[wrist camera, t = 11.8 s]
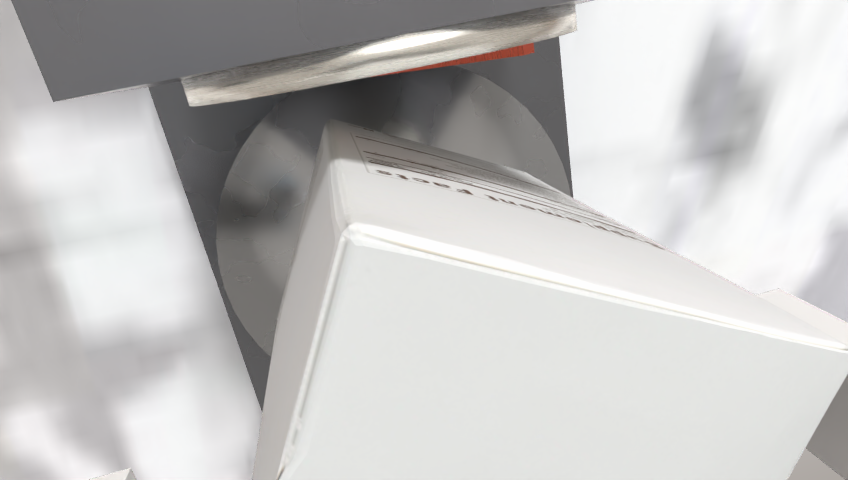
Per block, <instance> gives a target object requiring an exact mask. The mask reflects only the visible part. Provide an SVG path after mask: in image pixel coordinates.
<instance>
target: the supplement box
mask: <svg viewBox="0 0 848 480" xmlns="http://www.w3.org/2000/svg"><path fill="white" fill-rule="evenodd" d="M847 375H848V345H846V344H844V343H842V342H840V341H839V340H837V339H835V338H833V337H832V336H830V335H828V334H826V333H824V332H823V331H821V330H819V329H817V328H815V327H814V326H812V325H810V324H808V323H806V322H805V321H803V320H801V319H799V318H797V317H796V316H794V315H792V314H790V313H788V312H787V311H785V310H783V309H781V308H779V307H777V306H775V305H774V304H772V303H770V302H768V301H766V300H764V299H762V298H760V297H759V296H757V295H755V294H753V293H751V292H749V291H747V290H745V289H744V288H742V287H740V286H738V285H736V284H734V283H732V282H731V281H729V280H727V279H725V278H723V277H721V276H719V275H717V274H715V273H714V272H712V271H710V270H708V269H706V268H704V267H702V266H700V265H698V264H696V263H694V262H693V261H691V260H689V259H687V258H685V257H683V256H681V255H679V254H677V253H675V252H674V251H672V250H670V249H668V248H666V247H664V246H662V245H660V244H658V243H657V242H655V241H653V240H651V239H649V238H647V237H645V236H643V235H641V234H640V233H638V232H636V231H634V230H632V229H630V228H628V227H626V226H624V225H622V224H621V223H619V222H617V221H615V220H613V219H611V218H609V217H607V216H605V215H604V214H602V213H600V212H598V211H596V210H594V209H592V208H590V207H589V206H587V205H585V204H583V203H581V202H579V201H577V200H576V199H574V198H572V197H570V196H568V195H566V194H564V193H563V192H561V191H559V190H557V189H555V188H553V187H551V186H550V185H548V184H546V183H544V182H542V181H541V180H539V179H537V178H535V177H533V176H531V175H530V174H528V173H526V172H523V171H520V170H516V169H513V168H510V167H506V166H502V165H499V164H495V163H491V162H488V161H484V160H480V159H477V158H473V157H469V156H466V155H462V154H459V153H455V152H451V151H448V150H444V149H440V148H437V147H433V146H429V145H426V144H422V143H419V142H415V141H411V140H408V139H404V138H401V137H397V136H393V135H390V134H386V133H383V132H379V131H375V130H372V129H368V128H365V127H361V126H357V125H354V124H350V123H346V122H342V121H338V120H334V119H330V120H328V121H327V122H326V124H325V126H324V129H323V133H322V137H321V140H320V144H319V148H318V153H317V157H316V161H315V165H314V169H313V173H312V177H311V181H310V185H309V189H308V193H307V197H306V201H305V205H304V209H303V213H302V218H301V222H300V226H299V230H298V234H297V238H296V242H295V246H294V250H293V254H292V259H291V263H290V267H289V271H288V275H287V279H286V283H285V287H284V292H283V296H282V300H281V304H280V308H279V313H278V318H277V324H276V331H275V337H274V344H273V350H272V356H271V362H270V369H269V375H268V381H267V387H266V393H265V399H264V406H263V412H262V418H261V425H260V431H259V437H258V444H257V450H256V456H255V463H254V469H253V475H252V480H787V479H788V478H789V476H790V474H791V472H792V471H793V469H794V467H795V465H796V464H797V462H798V460H799V458H800V456H801V455H802V453H803V451H804V449H805V448H806V446H807V444H808V442H809V441H810V439H811V437H812V435H813V433H814V432H815V430H816V428H817V426H818V425H819V423H820V421H821V419H822V418H823V416H824V414H825V412H826V411H827V409H828V407H829V405H830V404H831V402H832V400H833V398H834V397H835V395H836V393H837V392H838V390H839V388H840V387H841V385H842V383H843V381H844V380H845V378H846V376H847Z"/></svg>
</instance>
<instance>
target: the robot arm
mask: <svg viewBox="0 0 848 480" xmlns="http://www.w3.org/2000/svg"><path fill="white" fill-rule="evenodd" d="M757 296H759V297H760V298H762V299H764V300H766V301H768V302H770V303H772V304H774V305H775V306H777V307H779V308H781V309H783V310H785V311H787V312H788V313H790V314H792V315H794V316H796V317H797V318H799V319H801V320H803V321H805V322H806V323H808V324H810V325H812V326H814V327H815V328H817V329H819V330H821V331H823V332H824V333H826V334H828V335H830V336H832V337H833V338H835V339H837V340H839V341H840V342H842V343H844V344H846V345H848V322H846V321H844V320H842V319H840V318H838V317H835V316H833V315H831V314H829V313H827V312H825V311H823V310H821V309H819V308H817V307H815V306H813V305H811V304H809V303H807V302H805V301H803V300H801V299H799V298H797V297H795V296H793V295H791V294H789V293H787V292H785V291H783V290H781V289H776V290H772V291H768V292H765V293H761V294H758V295H757ZM806 449H807V450H808V451H810V452H811V453H812V454H814V455H815V456H816V457H817V458H819V459H820V460H821V461H822V462H824V463H825V464H826V465H828V466H829V467H830V468H831V469H832V470H834V471H835V472H836V473H837V474H839V475H840V476H841V477H843V478H844V479H845V480H848V375H847V376H846V378H845V380H844V381H843V383H842V385H841V387H840V388H839V390H838V392H837V393H836V395H835V397H834V398H833V400H832V402H831V404H830V405H829V407H828V409H827V411H826V412H825V414H824V416H823V418H822V419H821V421H820V423H819V425H818V426H817V428H816V430H815V432H814V433H813V435H812V437H811V439H810V441H809V442H808V444H807V446H806ZM89 480H136V478H135V476H134V473H133V471H132V469H131V468H129V469H125V470H121V471H118V472H114V473H110V474H107V475H103V476H100V477H96V478H92V479H89Z"/></svg>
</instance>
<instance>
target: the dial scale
mask: <svg viewBox="0 0 848 480" xmlns="http://www.w3.org/2000/svg"><path fill="white" fill-rule="evenodd" d="M11 1H12V3H13V6H14V8H15V10H16V13H17V15H18V18H19V20H20V22H21V25H22V27H23V30H24V32H25V35H26V37H27V39H28V42H29V44H30V47H31V49H32V51H33V54H34V56H35V59H36V61H37V64H38V66H39V68H40V71H41V73H42V76H43V78H44V80H45V83H46V85H47V88H48V90H49V93H50V95H51V97H52V100H53V102H56V101H62V100H69V99H75V98H81V97H88V96H94V95H101V94H107V93H114V92H120V91H127V90H133V89H140V88H146V87H149V90H150V93H151V96H152V99H153V102H154V104H155V107H156V110H157V113H158V116H159V119H160V121H161V124H162V127H163V130H164V133H165V136H166V139H167V141H168V144H169V147H170V150H171V153H172V156H173V159H174V161H175V164H176V167H177V170H178V173H179V176H180V179H181V181H182V184H183V187H184V190H185V193H186V196H187V199H188V201H189V204H190V207H191V210H192V213H193V216H194V218H195V221H196V224H197V227H198V230H199V233H200V236H201V238H202V241H203V244H204V247H205V250H206V253H207V256H208V258H209V261H210V264H211V267H212V270H213V273H214V276H215V278H216V281H217V284H218V287H219V290H220V293H221V296H222V298H223V301H224V304H225V307H226V310H227V313H228V315H229V318H230V321H231V324H232V327H233V330H234V333H235V335H236V338H237V341H238V344H239V347H240V350H241V353H242V355H243V358H244V361H245V364H246V367H247V370H248V373H249V375H250V378H251V381H252V384H253V387H254V390H255V393H256V395H257V398H258V401H259V404H260V407H261V410H262V412H263V406H264V399H265V393H266V387H267V381H268V375H269V369H270V362H271V356H272V350H273V344H274V337H275V331H276V324H277V318H278V313H279V308H280V304H281V300H282V296H283V292H284V287H285V283H286V279H287V275H288V271H289V267H290V263H291V259H292V254H293V250H294V246H295V242H296V238H297V234H298V230H299V226H300V222H301V218H302V213H303V209H304V205H305V201H306V197H307V193H308V189H309V185H310V181H311V177H312V173H313V169H314V165H315V161H316V157H317V153H318V148H319V144H320V140H321V137H322V133H323V129H324V126H325V124H326V122H327V121H328V120H330V119H334V120H338V121H342V122H346V123H350V124H354V125H357V126H361V127H365V128H368V129H372V130H375V131H379V132H383V133H386V134H390V135H393V136H397V137H401V138H404V139H408V140H411V141H415V142H419V143H422V144H426V145H429V146H433V147H437V148H440V149H444V150H448V151H451V152H455V153H459V154H462V155H466V156H469V157H473V158H477V159H480V160H484V161H488V162H491V163H495V164H499V165H502V166H506V167H510V168H513V169H516V170H520V171H523V172H526V173H528V174H530V175H531V176H533V177H535V178H537V179H539V180H541V181H542V182H544V183H546V184H548V185H550V186H551V187H553V188H555V189H557V190H559V191H561V192H563V193H564V194H566V195H568V196H570V197H572V198H573V191H572V180H571V169H570V157H569V146H568V135H567V124H566V113H565V102H564V90H563V79H562V68H561V57H560V46H559V36H561V35H565V34H568V33H572V32H574V31H577V22H576V9H575V4H580V3H584V2H589V1H593V0H11Z"/></svg>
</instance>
